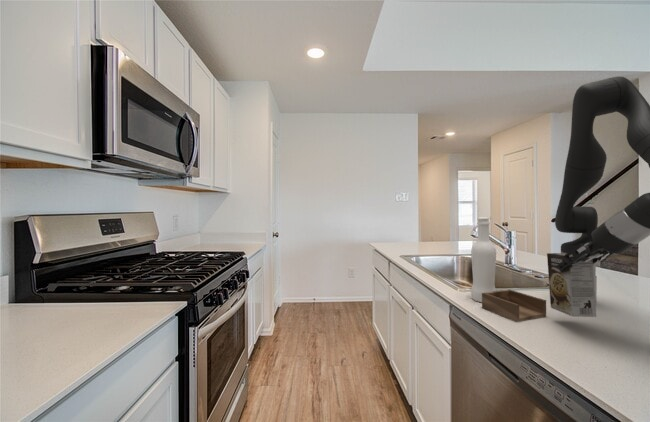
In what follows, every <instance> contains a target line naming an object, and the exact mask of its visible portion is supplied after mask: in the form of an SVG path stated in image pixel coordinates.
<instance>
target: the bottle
mask: <svg viewBox="0 0 650 422" xmlns="http://www.w3.org/2000/svg"><path fill="white" fill-rule="evenodd" d="M489 220H490V219H489V217H488V216H479V217H477V240H476V241H475V242H474V244H473V245H472V247H471V251H470V252H471V253H470V255H471V256H470V257H471V268H472V269H471V270H472V271H471V272H472V286H471V289H470V295H471V298H472V300H473V301H476V302H478V303H480V304H482V293H486V292H493V291H497V290H496V286H495V282H496V281H495V280H496V279H495V278H496V262H497V249H496V247H495V245H494V244H493V242H491V240H490V221H489Z"/></svg>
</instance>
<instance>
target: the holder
mask: <svg viewBox="0 0 650 422" xmlns="http://www.w3.org/2000/svg"><path fill="white" fill-rule="evenodd" d="M481 308H482V309H484V310H486V311H489V312H491V313H493V314H496V315H498V316H500V317H503V318H506V319H508V320H510V321H513V322H515V323H519V322H524V321H529V320H530V321H531V320H534V319H540V318H541V319H542V318H547V300H546V299H542V298H539V297H536V296H532V295H530V294H525V293H523V292H519V291H515V290H513V289H508V288H507V289H504V290H503V289H501V290H496V291H493V292H486V293H482V303H481Z"/></svg>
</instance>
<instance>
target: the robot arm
mask: <svg viewBox="0 0 650 422" xmlns="http://www.w3.org/2000/svg"><path fill="white" fill-rule="evenodd" d="M572 99H573V100H572V109H571V126H570V127H571V128H570V130H571V131H570V138H569V139H570V140H569V145H568V151H567V155H566V156H567V157H566V160H565V166H564V172H563V173H564V175H563V182H562V189H561V195H560V197H559V202H558V206H557V208H556V209H557V210H556V211H555V212H556V213H555V219H554V224H555V225H554V226H555V228H556V230H557V231H558V232H560V233H565V234H566V233H567V234H581V235H580V237H578V238H576V239H573V240H570V241H567V242H564V243H561V245H560V253H562V254H566V255H564V256H563V258H564V259H565V260H564V261H563V262H561V263H560V264H559V265H557V268H558V269H559V270H560V272H562V273H563V272H566V271H567V270H569V269H570V268H572V267H573V266H574V265H576V264H578V263H580V262H583V263H585V262H587V261H589V260H591V259H593V273H594V289H595V304H596V303H597V298H598V297H597V289H598V287H597V286H598V285H597V281H598V280H597V273H596V268H597V265H596V264H598V263H600V262H601V261H602V262H605V261H607V260H608V259H609V258H610V257H612V256H614V255H622V254H624V253H625V252H627V251H629V250H630V249H632V248H633V247H634V246H636V245H637V244H639V243H641V242H642V241H644V240H646V239H647V238H648V237H650V192H646V193H644V194H641V195H640V196H639V197H637V198H635V200H633V201H631V203H629V204H628V205H626V206H625V207H624V208H623V209H621V210H620V211H619V210H618V212H616V213H615V214H613V215H612V216H610V217H609V218H608V219H606V220H605V221H604V222H602V224H600V225H598V222H599V221H598V220H599V217H598V211H597V209H596V208H595V207H593V206H575V204H576V203H577V202H578V200H579V199H580V198H581V197H582V196H584V195H585V194H586V193H587V192H589V191H590V190H591V189H592V188H594V187H595V186H596V185H597V184H598V183H599V182H600V181H601V179H602V177H603V175H604V171H605V168H606V164H607V163H606V162H607V159H608V158H607V154H606V151H605V150H604V147H602V145H601V144H600V142H599V141H598V140H597V139H596V136H595V135H594V123H595V119H596V117H600V116H603V115H609V114H612V113H616V112H617V113H618V114H620V115H622V116H624V117H625V119H626V120H627V129H626V139H627V143H628V145H629V146H630V148H631V149H632V151H634V152H635V153H636V154H637V155H638V156H639V158H641V159H642V160H643V161H644V162H645V163H647V165H648V167H649V169H650V104H649V102H648V101H647V100H646V99H645V97H644V96H643V94H642V93H641V91H639V89H638V88H637V86H636V85H635V84H634V83H633V82H632V81H631V80H630V79H629V78H627V77H625V76H611V77H607V78H605V79H601V80H597V81H596V80H595V81H592V82H589V83H585V84H582V85H580V86H579V87H578V88H577V89H576V91H575V93H574V96H573V98H572ZM584 256H585V257H586V258H583V257H584ZM572 257H574V259H573V258H572Z"/></svg>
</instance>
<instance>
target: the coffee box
mask: <svg viewBox="0 0 650 422" xmlns="http://www.w3.org/2000/svg"><path fill="white" fill-rule="evenodd" d="M564 255H566V254H562V253H561V252H560V253H559V252H555V253H554V252H553V253H552V252H551V253H548V252H547V253H546V258H547V274H548V285H549V287H548V288H549V300H550V301H549V302H550V308H551V309H553V310H556V311H558V312H560V313H563V314H565V315H568V316H571V317H578V318H579V317H582V318H583V317H585V318H586V317H589V318H593V317H594V318H596V317H597V309H596V307H597V306H596V303H595V289H594V273H593V259H591V260H589V261H587V262H585V263H583V262H580V263H578V264H576V265H574V266H573V267H572V268H570V269H569V270H567V271H566V272H563V273H562V272H560V270H559V269H558V268H557V265H559V264H560V263H561V262H563V261H564V260H565V259H564V258H563V256H564ZM572 258H573V259H574V257H572ZM583 258H586V257H585V256H584V257H583Z"/></svg>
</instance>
